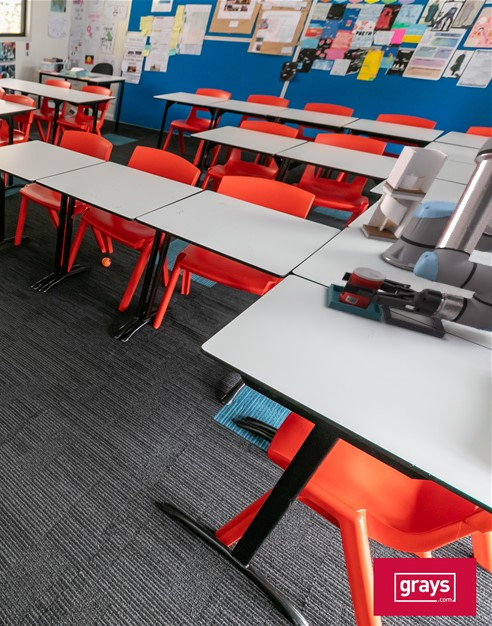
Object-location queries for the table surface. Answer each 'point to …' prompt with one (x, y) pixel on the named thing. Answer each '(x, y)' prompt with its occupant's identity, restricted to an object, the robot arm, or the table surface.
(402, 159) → the white tiered tower
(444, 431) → the table surface
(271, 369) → the table surface
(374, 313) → the tray
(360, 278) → the canned food
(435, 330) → the tray
